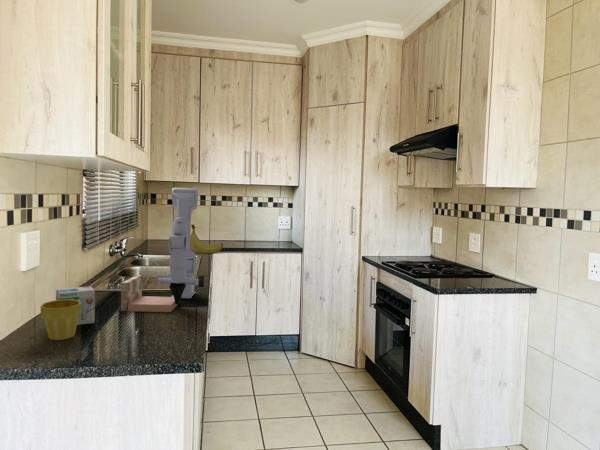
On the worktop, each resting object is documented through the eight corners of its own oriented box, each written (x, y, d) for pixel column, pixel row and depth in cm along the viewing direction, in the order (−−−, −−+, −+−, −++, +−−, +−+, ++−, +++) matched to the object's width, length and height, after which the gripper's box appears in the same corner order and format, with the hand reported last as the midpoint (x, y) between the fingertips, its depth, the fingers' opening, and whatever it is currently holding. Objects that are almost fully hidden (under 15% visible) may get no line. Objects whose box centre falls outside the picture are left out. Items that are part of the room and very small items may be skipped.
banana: (222, 252, 316) (223, 224, 314) (223, 253, 310) (223, 225, 309) (189, 252, 310) (189, 224, 308) (189, 254, 304) (190, 224, 303)
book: (139, 303, 170) (139, 296, 170) (178, 304, 171) (178, 297, 171) (127, 312, 158) (127, 304, 158) (170, 313, 159) (170, 305, 159)
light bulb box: (58, 327, 137) (58, 293, 137) (55, 322, 143) (54, 288, 142) (95, 322, 144) (95, 289, 143) (91, 317, 149) (91, 285, 148)
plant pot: (35, 343, 123) (35, 308, 122) (47, 331, 133) (47, 299, 132) (76, 341, 125) (76, 307, 125) (85, 330, 135) (85, 298, 135)
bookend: (136, 300, 173) (136, 275, 172) (141, 300, 173) (141, 275, 172) (120, 310, 158) (121, 282, 157) (126, 311, 158) (126, 283, 157)
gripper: (154, 268, 160) (154, 305, 161) (195, 269, 160) (194, 307, 161) (160, 265, 167) (160, 301, 168) (199, 266, 167) (199, 302, 168)
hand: (177, 303), depth 165 cm, fingers closed
